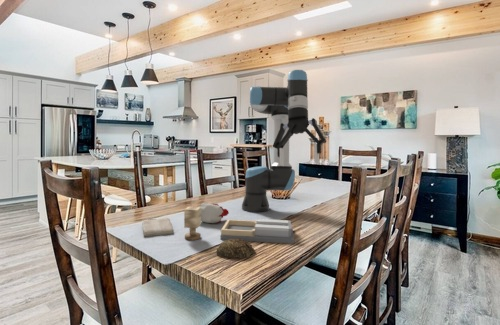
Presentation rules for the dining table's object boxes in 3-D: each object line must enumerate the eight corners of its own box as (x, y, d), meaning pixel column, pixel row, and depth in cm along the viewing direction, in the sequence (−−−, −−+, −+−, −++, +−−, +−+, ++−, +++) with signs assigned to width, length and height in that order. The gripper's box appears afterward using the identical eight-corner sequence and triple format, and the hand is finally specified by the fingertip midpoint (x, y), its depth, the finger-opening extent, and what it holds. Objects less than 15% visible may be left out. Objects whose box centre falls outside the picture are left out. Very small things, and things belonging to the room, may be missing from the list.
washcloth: (169, 222, 132) (169, 215, 132) (174, 235, 116) (174, 227, 115) (141, 225, 128) (141, 218, 127) (143, 238, 111) (143, 230, 111)
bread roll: (211, 256, 95) (211, 241, 95) (227, 243, 107) (227, 230, 107) (247, 263, 91) (247, 247, 90) (260, 249, 102) (260, 235, 102)
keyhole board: (220, 239, 111) (220, 226, 110) (228, 226, 126) (228, 215, 126) (293, 243, 107) (294, 231, 107) (292, 230, 123) (292, 219, 123)
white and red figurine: (192, 221, 132) (217, 219, 142) (206, 226, 124) (232, 224, 134) (194, 201, 132) (219, 201, 142) (209, 205, 124) (234, 205, 134)
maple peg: (182, 239, 109) (182, 209, 108) (187, 234, 115) (187, 206, 114) (197, 240, 108) (198, 210, 107) (202, 235, 114) (202, 206, 113)
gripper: (264, 112, 113) (264, 165, 109) (327, 100, 101) (330, 159, 97) (272, 117, 119) (272, 168, 116) (333, 107, 107) (335, 163, 103)
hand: (298, 164), depth 106 cm, fingers open, 13 cm apart
